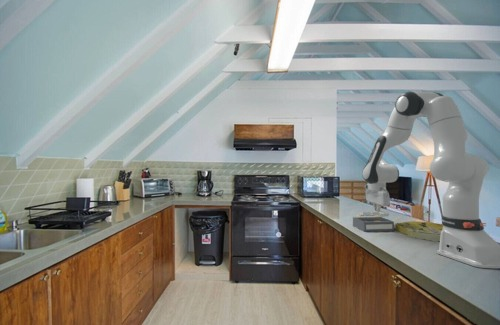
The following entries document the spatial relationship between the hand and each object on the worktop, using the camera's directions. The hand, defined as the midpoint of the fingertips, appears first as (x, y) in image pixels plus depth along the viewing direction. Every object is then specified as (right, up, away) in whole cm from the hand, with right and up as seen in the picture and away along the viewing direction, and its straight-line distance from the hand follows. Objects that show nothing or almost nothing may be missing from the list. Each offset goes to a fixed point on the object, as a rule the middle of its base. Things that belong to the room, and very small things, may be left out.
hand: (377, 211), depth 149 cm
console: (-5, -9, -4) cm, 11 cm away
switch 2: (-5, -1, -4) cm, 6 cm away
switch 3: (0, -1, -4) cm, 4 cm away
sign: (+18, -9, -16) cm, 26 cm away
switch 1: (-10, -1, -4) cm, 11 cm away
